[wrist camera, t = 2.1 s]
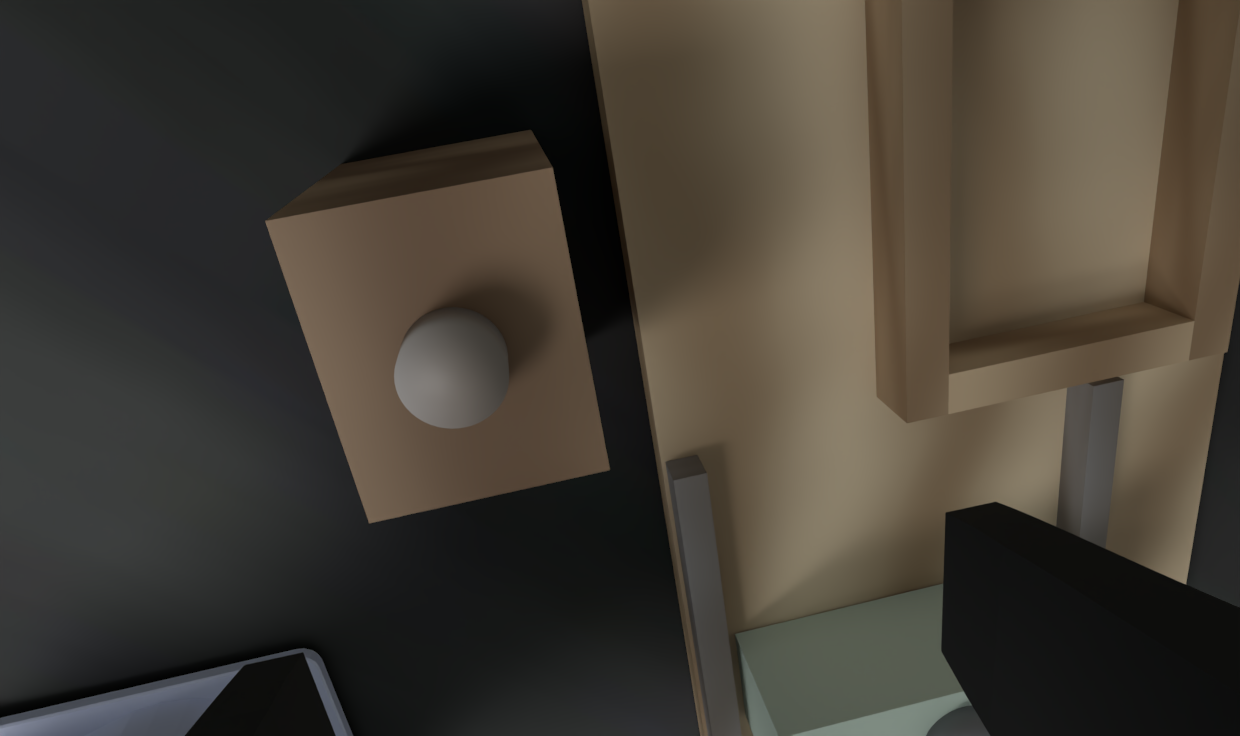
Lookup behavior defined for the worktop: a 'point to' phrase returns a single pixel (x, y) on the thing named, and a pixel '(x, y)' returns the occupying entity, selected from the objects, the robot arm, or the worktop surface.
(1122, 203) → the oak jig
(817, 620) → the slider bar
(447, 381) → the block
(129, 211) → the worktop surface
